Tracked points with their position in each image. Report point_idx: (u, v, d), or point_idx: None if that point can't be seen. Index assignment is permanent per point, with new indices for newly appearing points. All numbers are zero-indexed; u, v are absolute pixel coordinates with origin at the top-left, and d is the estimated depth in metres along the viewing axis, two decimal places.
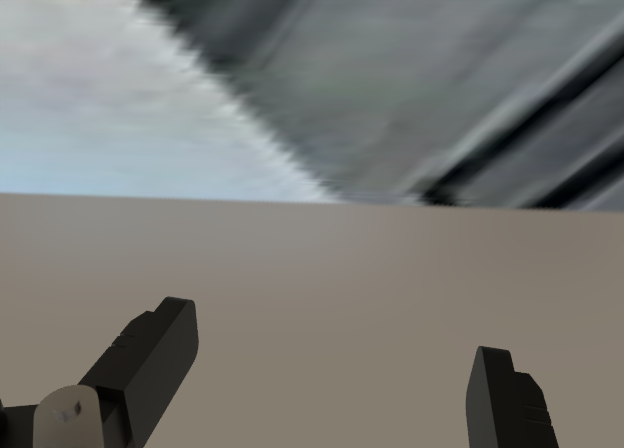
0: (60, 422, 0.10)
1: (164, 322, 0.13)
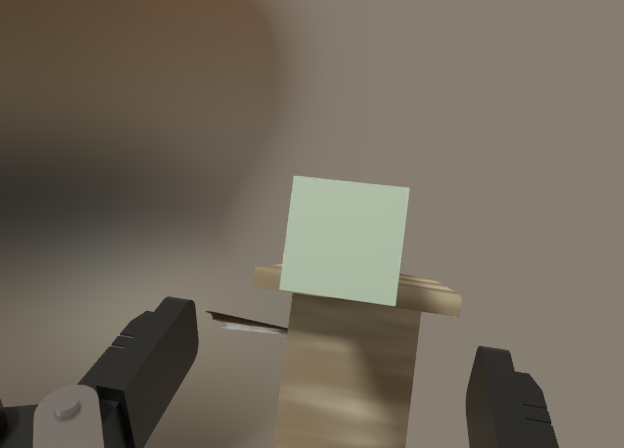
0: (60, 422, 0.10)
1: (164, 322, 0.13)
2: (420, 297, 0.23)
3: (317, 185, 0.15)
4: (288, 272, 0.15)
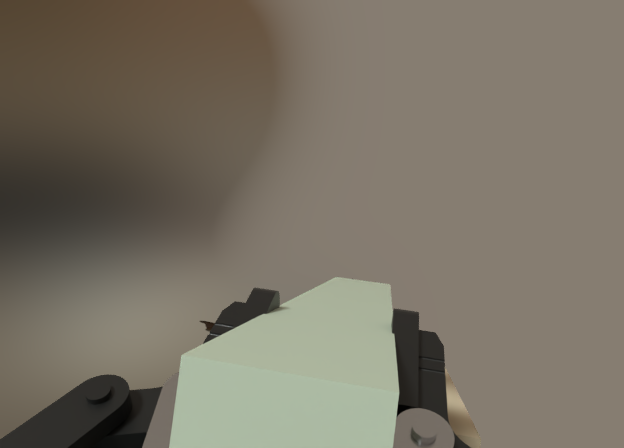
0: None
1: (258, 311, 0.13)
2: None
3: (224, 376, 0.08)
4: None
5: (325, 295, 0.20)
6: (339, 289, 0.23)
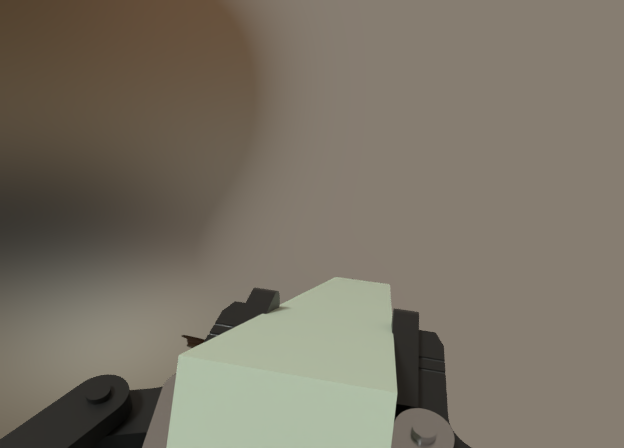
0: None
1: (258, 311, 0.13)
2: None
3: (221, 376, 0.08)
4: None
5: (324, 295, 0.19)
6: (338, 289, 0.23)
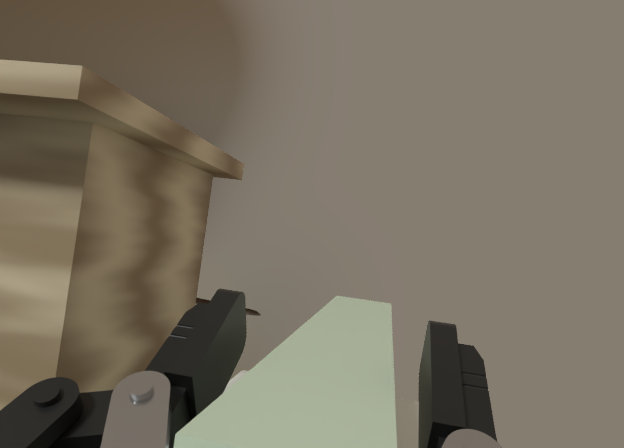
0: (138, 405, 0.10)
1: (220, 313, 0.13)
2: (23, 73, 0.14)
3: None
4: None
5: (325, 326, 0.19)
6: (339, 315, 0.23)
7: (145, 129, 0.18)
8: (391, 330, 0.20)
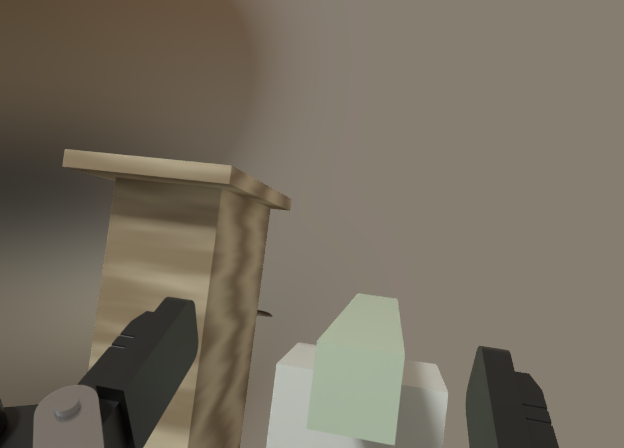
0: (60, 422, 0.10)
1: (164, 322, 0.13)
2: (198, 169, 0.26)
3: (335, 349, 0.19)
4: (313, 415, 0.19)
5: (357, 310, 0.31)
6: (364, 305, 0.34)
7: (250, 191, 0.30)
8: (398, 313, 0.32)
